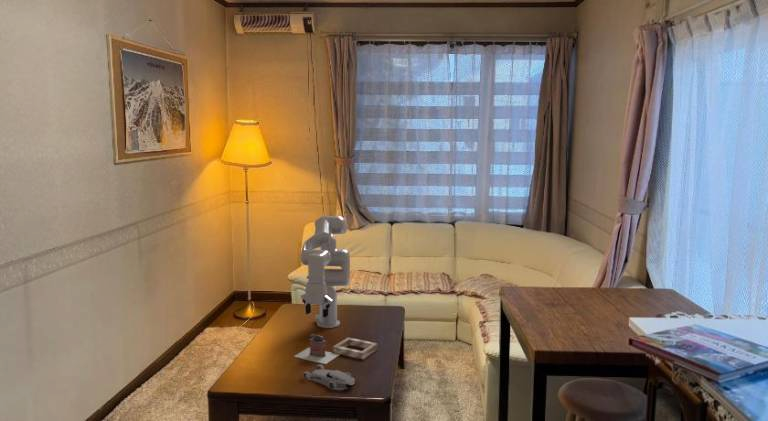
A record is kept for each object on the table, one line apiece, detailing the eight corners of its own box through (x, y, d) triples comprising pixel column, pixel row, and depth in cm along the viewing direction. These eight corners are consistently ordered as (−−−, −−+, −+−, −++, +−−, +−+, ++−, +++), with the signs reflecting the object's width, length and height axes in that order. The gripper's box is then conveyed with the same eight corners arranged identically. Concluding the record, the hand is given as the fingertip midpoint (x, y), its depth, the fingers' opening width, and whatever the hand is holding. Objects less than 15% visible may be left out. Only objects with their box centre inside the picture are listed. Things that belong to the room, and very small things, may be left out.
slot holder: (332, 352, 258) (332, 346, 257) (347, 343, 270) (347, 337, 270) (363, 359, 250) (363, 353, 250) (377, 349, 262) (377, 343, 262)
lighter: (326, 355, 254) (326, 334, 253) (323, 357, 251) (323, 337, 250) (311, 352, 257) (311, 332, 255) (308, 355, 254) (308, 335, 252)
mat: (293, 356, 253) (293, 356, 252) (308, 348, 263) (308, 347, 263) (325, 364, 244) (325, 363, 244) (339, 355, 255) (339, 354, 255)
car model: (317, 370, 240) (317, 359, 239) (361, 384, 226) (361, 373, 225) (300, 379, 231) (300, 368, 230) (344, 394, 217) (344, 383, 216)
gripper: (296, 279, 249) (297, 314, 252) (327, 284, 242) (327, 320, 244) (306, 275, 256) (306, 309, 258) (336, 280, 248) (336, 315, 251)
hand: (316, 315), depth 251 cm, fingers open, 9 cm apart
